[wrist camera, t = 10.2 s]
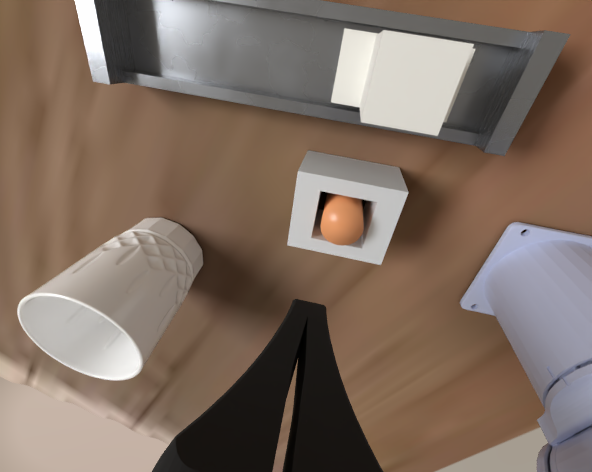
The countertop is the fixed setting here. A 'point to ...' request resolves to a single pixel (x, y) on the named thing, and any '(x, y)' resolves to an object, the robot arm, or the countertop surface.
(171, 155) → the countertop surface
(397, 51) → the carriage
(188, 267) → the white cup
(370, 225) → the white hollow block
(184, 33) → the rail
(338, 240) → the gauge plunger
